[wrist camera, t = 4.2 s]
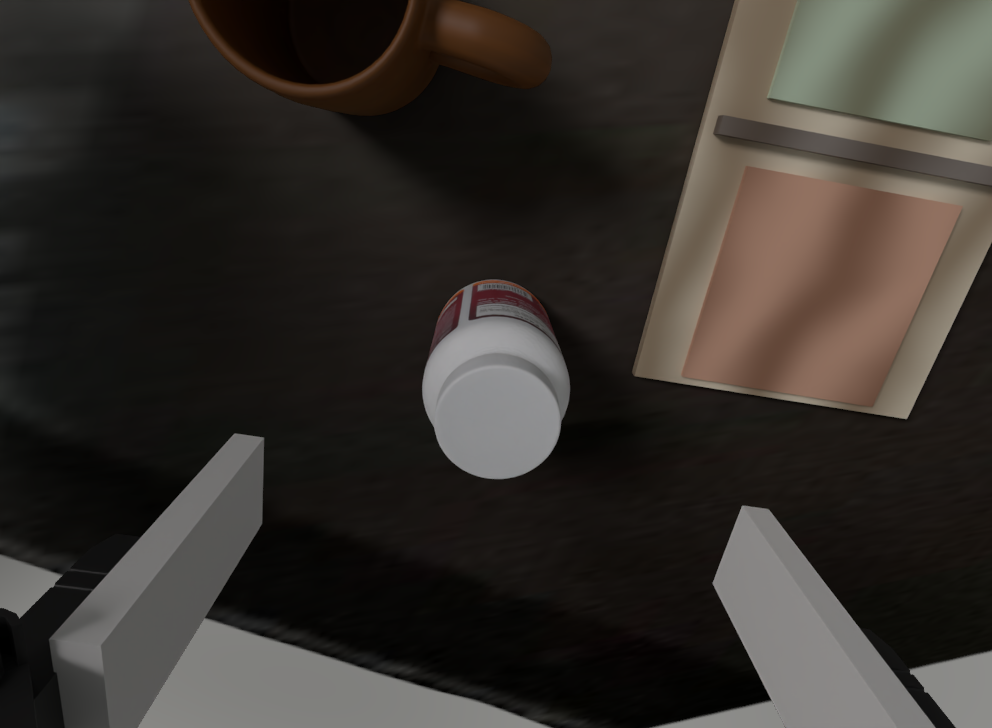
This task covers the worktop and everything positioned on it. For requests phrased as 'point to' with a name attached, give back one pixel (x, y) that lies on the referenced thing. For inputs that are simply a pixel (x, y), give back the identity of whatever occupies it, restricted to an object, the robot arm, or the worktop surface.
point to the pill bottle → (495, 381)
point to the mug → (369, 48)
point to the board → (830, 203)
